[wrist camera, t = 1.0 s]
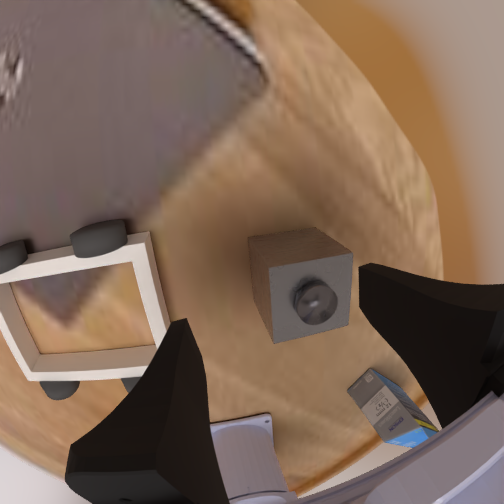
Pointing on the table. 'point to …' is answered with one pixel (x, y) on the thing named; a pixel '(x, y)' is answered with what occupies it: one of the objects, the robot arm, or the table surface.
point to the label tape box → (391, 410)
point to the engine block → (300, 282)
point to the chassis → (72, 259)
